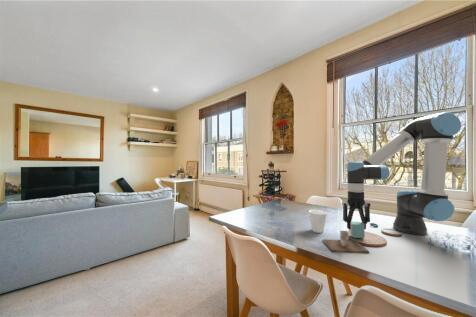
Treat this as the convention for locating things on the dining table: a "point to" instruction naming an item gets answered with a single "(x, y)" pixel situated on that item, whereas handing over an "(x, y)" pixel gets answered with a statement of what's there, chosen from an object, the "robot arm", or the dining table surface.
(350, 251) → the dark wooden tray
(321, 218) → the cup
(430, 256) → the dining table surface
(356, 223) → the teal block
